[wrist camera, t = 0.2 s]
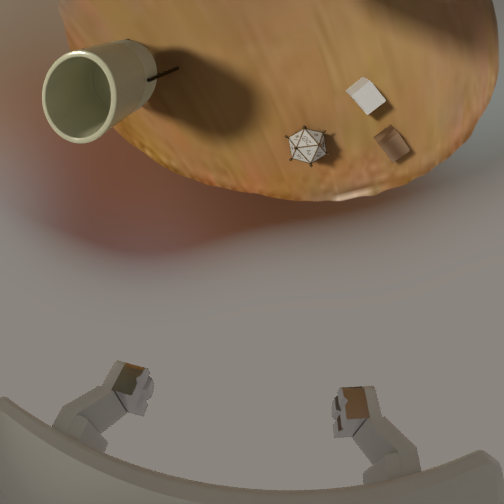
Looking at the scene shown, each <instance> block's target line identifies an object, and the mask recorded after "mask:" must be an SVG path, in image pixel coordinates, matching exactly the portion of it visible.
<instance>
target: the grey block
mask: <svg viewBox="0 0 504 504" xmlns="http://www.w3.org/2000/svg"><path fill="white" fill-rule="evenodd" d="M346 92H347V93H348V94H349V95H350V96H351V97H352V99H353V100H354V101H355V102H356V103H357V104H358V105H359V106H360V108H361V109H362V110H363V111H364V112H365V113H366V114H367V115H368V114H370V113H371V112H372V111H374V110H375V109H376V108H377V107H379V106H380V105H381V104H383V103H384V102H385V101H386V100H385V98H384V97H383V96H382V95H381V93H380V92H379V91H378V90H377V88H376V87H375V86H374V85H373V84H372V82H371V81H370V80H368V79H366V78H365V77H362V78H361V79H359V80H358V81H357V82H356V83H354V84H353V85H352V86H351V87H349V88H348V89H347V90H346Z"/></svg>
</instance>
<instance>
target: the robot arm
mask: <svg viewBox="0 0 504 504" xmlns="http://www.w3.org/2000/svg"><path fill="white" fill-rule="evenodd" d="M149 374H150V372H149V370H148V368H144V367H140V366H136V365H132V364H129V363H125V362H121V361H116V362H115V363H114V365H113V366H112V368H111V370H110V372H109V374H108V375H107V377H106V379H105V381H104V383H103V384H102V386H98V387H96V388H94V389H92V390H91V391H89V392H87V393H86V394H84V395H82V396H81V397H79V398H77V399H75V400H74V401H72V402H70V403H68V404H66V405H65V406H63V407H62V409H61V411H60V412H59V414H58V416H57V418H56V420H55V422H54V424H53V425H52V427H51V426H49V425H47V424H46V423H44V422H42V421H41V420H39V419H38V418H36V417H34V416H33V415H31V414H30V413H28V412H27V411H25V410H24V409H22V408H21V407H19V406H18V405H17V404H15V403H14V402H13V401H11V400H10V399H9V398H7V397H0V504H504V479H503V473H502V469H501V466H500V463H499V462H498V461H497V460H496V459H495V458H494V457H492V456H491V455H489V454H488V453H487V452H485V451H483V450H477V451H475V452H472V453H470V454H468V455H465V456H463V457H461V458H458V459H456V460H453V461H450V462H448V463H445V464H442V465H440V466H437V467H434V468H431V469H428V470H425V471H421V467H420V462H419V457H418V453H417V448H416V446H415V445H414V444H413V443H412V442H410V440H408V439H407V438H406V437H405V436H404V435H403V434H402V433H401V432H400V431H399V430H398V429H397V428H396V427H395V426H394V425H393V424H392V423H391V422H390V421H389V420H388V419H387V418H386V417H382V415H381V411H380V407H379V402H378V398H377V394H376V390H375V387H374V386H366V387H365V386H364V387H362V386H360V387H342V388H340V389H339V390H338V392H337V393H338V396H336V397H335V398H334V400H333V404H332V417H333V418H334V419H335V420H336V421H335V423H334V424H333V431H334V438H339V437H352V438H353V440H354V441H355V442H356V443H357V445H358V446H359V447H360V449H361V450H362V451H363V453H364V454H365V455H366V457H367V458H368V459H369V460H370V462H371V463H372V464H373V466H371V467H370V468H368V469H367V470H366V471H365V472H364V473H363V483H364V485H358V486H351V487H342V488H332V489H320V490H261V489H248V488H247V489H246V488H237V487H229V486H222V485H215V484H209V483H203V482H198V481H193V480H188V479H184V478H179V477H175V476H171V475H167V474H164V473H160V472H156V471H153V470H150V469H146V468H143V467H140V466H137V465H134V464H131V463H128V462H126V461H123V460H120V459H118V458H115V457H113V456H110V455H108V454H105V453H104V452H105V450H106V447H107V445H108V442H107V440H106V439H105V438H104V437H102V435H101V433H102V432H104V431H105V430H106V429H108V427H110V426H111V425H113V424H114V423H115V422H116V421H118V420H119V419H120V418H121V417H123V416H124V415H125V414H126V413H127V412H129V413H133V414H136V415H140V416H144V414H145V411H146V409H147V406H148V404H147V401H146V400H148V399H149V398H151V396H152V394H153V389H154V383H153V380H152V378H150V376H149Z"/></svg>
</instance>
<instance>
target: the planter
mask: <svg viewBox="0 0 504 504" xmlns="http://www.w3.org/2000/svg"><path fill="white" fill-rule="evenodd" d="M178 69H179V67H174V68H172V69H169V70H166V71H164V72H161V73H157V67H156V63H155V60H154V58H153V56H152V54H151V53H150V51H149V50H148V49H147V48H146V47H145V46H143V45H142V44H140V43H138V42H135V41H131V40H129V39H127V40H119V41H114V42H109V43H104V44H99V45H95V46H91V47H87V48H83V49H79V50H75V51H72V52H69V53H67V54H65V55H63V56H62V57H60V58H59V59H58V60H57V61H56V62H55V63H54V64H53V65H52V67H51V68H50V70H49V71H48V73H47V75H46V78H45V81H44V84H43V90H42V103H43V109H44V112H45V115H46V118H47V120H48V122H49V124H50V125H51V127H52V128H53V129H54V131H55V132H56V133H57V134H59V135H60V136H61V137H63V138H64V139H66V140H68V141H70V142H74V143H88V142H91V141H93V140H96V139H97V138H99V137H100V136H102V135H103V134H104V133H105V132H107V131H108V130H109V129H111V128H112V127H113V126H115V125H116V124H117V123H119V122H120V121H122V120H123V119H124V118H126V117H127V116H129V115H130V114H131V113H133V112H134V111H136V110H137V109H139V108H140V107H142V106H143V105H144V104H145V103H146V102H147V101H148V100H149V98H150V97H151V95H152V93H153V91H154V89H155V86H156V82H157V78H160V77H162V76H164V75H166V74H169V73H171V72H174V71H176V70H178Z"/></svg>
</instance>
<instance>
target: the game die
mask: <svg viewBox="0 0 504 504" xmlns="http://www.w3.org/2000/svg"><path fill="white" fill-rule="evenodd" d="M325 132H326V130H324V131H323V132H319V131H315V130H311V129H306V126H305V125H303V129H302V130H300V131H298V132H296V133H295V134H293V135H291V136H289V137H288V136H287V135H286V136H285V138H288V140H289V145H290V150H291V156H292V158H290V160H289V161H291V160H292V159H295V160H299V161H302V162H306V163H309V164H310V167H311V168H312V166H313V165H312V163H313V162H315V161H316V160H318V159H320V158H321V157H323V156H325V155H327V156H330V154H328V153H327V152H326V146H325V140H324V133H325Z"/></svg>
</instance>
